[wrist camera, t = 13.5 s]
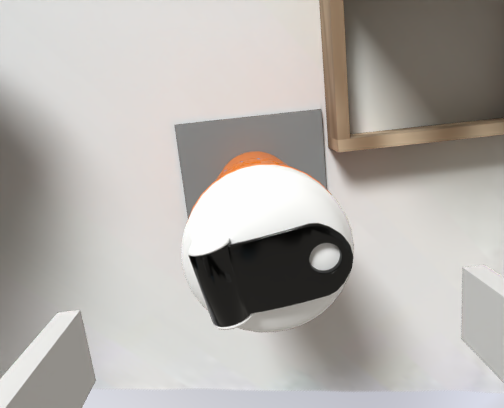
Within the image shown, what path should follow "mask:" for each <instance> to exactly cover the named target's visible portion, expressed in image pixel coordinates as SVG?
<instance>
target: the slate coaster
mask: <svg viewBox="0 0 504 408" xmlns="http://www.w3.org/2000/svg"><path fill="white" fill-rule="evenodd" d="M175 132H176V139H177V146H178V153H179V160H180V167H181V173H182V180H183V187H184V194H185V201H186V208H187V215H188V219H189V216H190V214H191V211H192V208H193V207H194V205H195V204H196V202H197V200H198V199H199V197H200V196H201V194H202V193H203V192H204V191H205V190H206V189H207V188H208V187H209V186H210V185H211V184H212V183H213V182H215V181H216V179H217V178H218V176H219V175H220V173H221V172H222V170H223V169H224V167H225V166H226V165H227V164H228V163H229V162H230V160H232V159H233V158H235V157H236V156H238V155H241V154H243V153H247V152H252V151H260V152H265V153H269V154H271V155H273V156H275V157H277V158H278V159H280V160H281V161H283V162H284V163H285V164H287V165H288V166H290V167H292V168H295V169H297V170H300V171H302V172H305V173H307V174H308V175H310V176H311V177H313V178H314V179H316V180H317V181H319V182H320V183H321V184H322V185H323V186H324V187H325V188H326V175H325V159H324V144H323V128H322V113H321V109H316V110H307V111H298V112H288V113H279V114H270V115H260V116H251V117H242V118H232V119H223V120H214V121H205V122H195V123H186V124H177V125H175Z"/></svg>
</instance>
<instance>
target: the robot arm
mask: <svg viewBox="0 0 504 408" xmlns="http://www.w3.org/2000/svg"><path fill="white" fill-rule="evenodd" d="M461 339H462V340H463V341H464V342H465V343H466V344H467V345H468V346H469V347H470V348H471V349H472V350H473V352H474V353H475V354H476V355H477V356H478V357H479V358H480V359H481V360H482V361H483V362H484V363H485V364H486V365H487V366H488V367H489V368H490V369H491V370H492V371H493V372H494V373H495V374H496V375H497V377H498V378H499V379H500V380H501V381H502V382H503V383H504V277H503V276H501V275H500V274H498V273H497V272H495V271H493V270H492V269H490V268H489V267H487V266H486V265H477V266H468V267H462V325H461ZM95 381H96V379H95V374H94V370H93V365H92V361H91V356H90V351H89V347H88V342H87V338H86V333H85V329H84V324H83V320H82V315H81V311H80V310H75V311H66V312H58V313H57V314H56V315H55V316H54V317H53V319H52V320H51V321H50V322H49V323H48V324H47V325H46V327H45V328H44V329H43V330H42V331H41V332H40V334H39V335H38V336H37V337H36V338H35V339H34V341H33V342H32V343H31V344H30V345H29V346H28V347H27V349H26V350H25V351H24V352H23V353H22V354H21V356H20V357H19V358H18V359H17V360H16V361H15V362H14V364H13V365H12V366H11V367H10V368H9V369H8V371H7V372H6V373H5V374H4V375H3V376H2V377H1V379H0V408H82V406H83V404H84V402H85V400H86V399H87V397H88V394H89V393H90V391H91V389H92V387H93V385H94V383H95Z"/></svg>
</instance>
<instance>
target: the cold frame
mask: <svg viewBox="0 0 504 408" xmlns="http://www.w3.org/2000/svg"><path fill="white" fill-rule="evenodd" d="M319 3H320V19H321V36H322V52H323V68H324V84H325V100H326V117H327V133H328V148H330V149H332V150H334V151H337V152H347V151H356V150H366V149H375V148H384V147H393V146H403V145H412V144H421V143H431V142H440V141H449V140H458V139H468V138H477V137H486V136H495V135H504V118H496V119H487V120H478V121H468V122H459V123H450V124H441V125H431V126H422V127H413V128H403V129H394V130H385V131H376V132H366V133H357V134H350V126H349V105H348V85H347V65H346V45H345V24H344V4H343V0H319Z"/></svg>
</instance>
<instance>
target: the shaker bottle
mask: <svg viewBox="0 0 504 408" xmlns="http://www.w3.org/2000/svg"><path fill="white" fill-rule="evenodd" d="M353 249H354V244H353V237H352V231H351V227H350V225H349V222H348V219H347V217H346V214H345V213H344V211H343V210H342V208H341V206H340V205H339V203H338V202H337V200H336V199H335V198H334V197H333V196H332V195H331V193H330V192H329V191H328V190H327V189H326V188H325V187H324V186H323V185H322V184H321V183H320V182H319V181H317V180H316V179H314V178H313V177H311V176H310V175H308V174H307V173H305V172H302V171H300V170H297V169H295V168H292V167H290V166H288V165H287V164H285V163H284V162H283V161H281V160H280V159H278V158H277V157H275V156H273V155H271V154H269V153H265V152H260V151H252V152H247V153H243V154H241V155H238V156H236V157H235V158H233V159H232V160H230V162H229V163H228V164H227V165H226V166H225V167H224V169H223V170H222V172H221V173H220V175H219V176H218V178H217V179H216V181H215V182H213V183H212V184H211V185H210V186H209V187H208V188H207V189H206V190H205V191H204V192H203V193H202V194H201V196H200V197H199V199H198V200H197V202H196V204H195V205H194V207H193V208H192V211H191V214H190V216H189V219H188V221H187V225H186V227H185V230H184V234H183V240H182V246H181V253H182V266H183V270H184V273H185V277H186V280H187V282H188V284H189V286H190V288H191V290H192V292H193V294H194V295H195V297H196V298H197V299H198V301H199V302H200V303H201V304H202V306H203V307H204V308H206V309H207V310H208V311H209V314H210V316H211V319H212V322H213V324H214V326H215V327H216V328H218V329H222V330H229V329H233V328H240V329H243V330H248V331H254V332H278V331H283V330H288V329H292V328H295V327H297V326H300V325H303V324H305V323H307V322H309V321H310V320H312V319H314V318H315V317H317V316H319V315H320V314H321V313H322V312H324V311H325V310H326V309H327V308H328V307H329V306H330V305H331V304H332V303H333V302H334V301H335V299H336V298H337V297H338V295H339V294H340V293H341V291H342V289H343V287H344V285H345V283H346V281H347V279H348V277H349V274H350V271H351V269H352V263H353Z"/></svg>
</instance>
